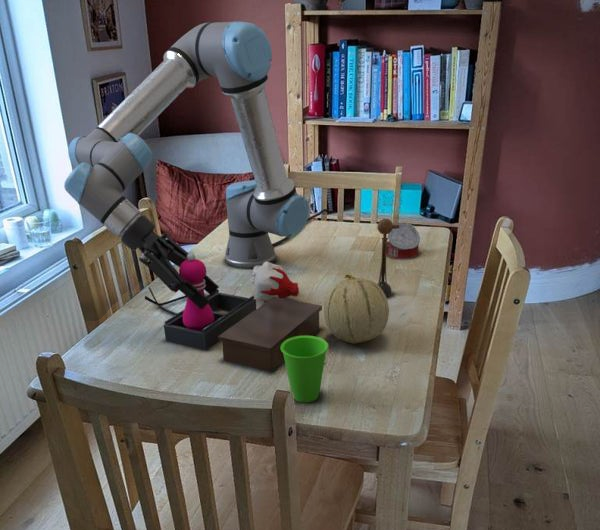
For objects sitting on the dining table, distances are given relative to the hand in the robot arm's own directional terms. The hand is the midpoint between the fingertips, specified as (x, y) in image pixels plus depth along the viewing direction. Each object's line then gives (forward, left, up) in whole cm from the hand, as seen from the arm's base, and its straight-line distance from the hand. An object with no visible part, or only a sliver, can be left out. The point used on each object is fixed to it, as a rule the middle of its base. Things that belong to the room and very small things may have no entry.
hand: (210, 298), depth 144 cm
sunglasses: (-10, -19, -10) cm, 24 cm away
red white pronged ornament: (-25, +2, -10) cm, 27 cm away
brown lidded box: (-2, +15, -10) cm, 18 cm away
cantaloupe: (-12, +31, -10) cm, 34 cm away
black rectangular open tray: (-4, -3, -10) cm, 11 cm away
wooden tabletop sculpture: (-40, +27, -10) cm, 49 cm away
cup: (+15, +32, -10) cm, 36 cm away
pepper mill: (+1, -3, -10) cm, 10 cm away
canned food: (-73, +20, -10) cm, 76 cm away
